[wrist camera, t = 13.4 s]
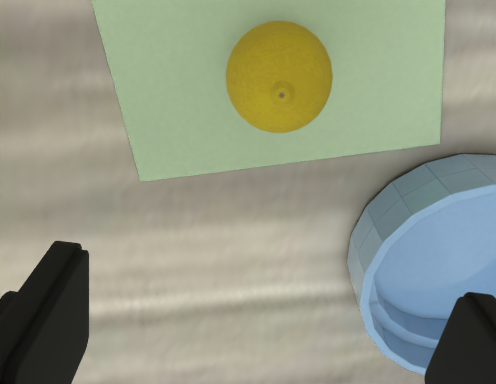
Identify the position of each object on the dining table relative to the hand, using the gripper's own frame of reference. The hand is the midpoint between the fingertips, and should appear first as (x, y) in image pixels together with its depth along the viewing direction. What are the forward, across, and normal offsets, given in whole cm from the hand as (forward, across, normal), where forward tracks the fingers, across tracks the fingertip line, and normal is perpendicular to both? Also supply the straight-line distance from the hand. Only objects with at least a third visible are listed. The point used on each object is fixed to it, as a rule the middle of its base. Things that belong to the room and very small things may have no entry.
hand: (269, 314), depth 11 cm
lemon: (+19, -1, -3) cm, 19 cm away
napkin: (+19, -1, -3) cm, 20 cm away
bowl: (+19, -16, +8) cm, 26 cm away
